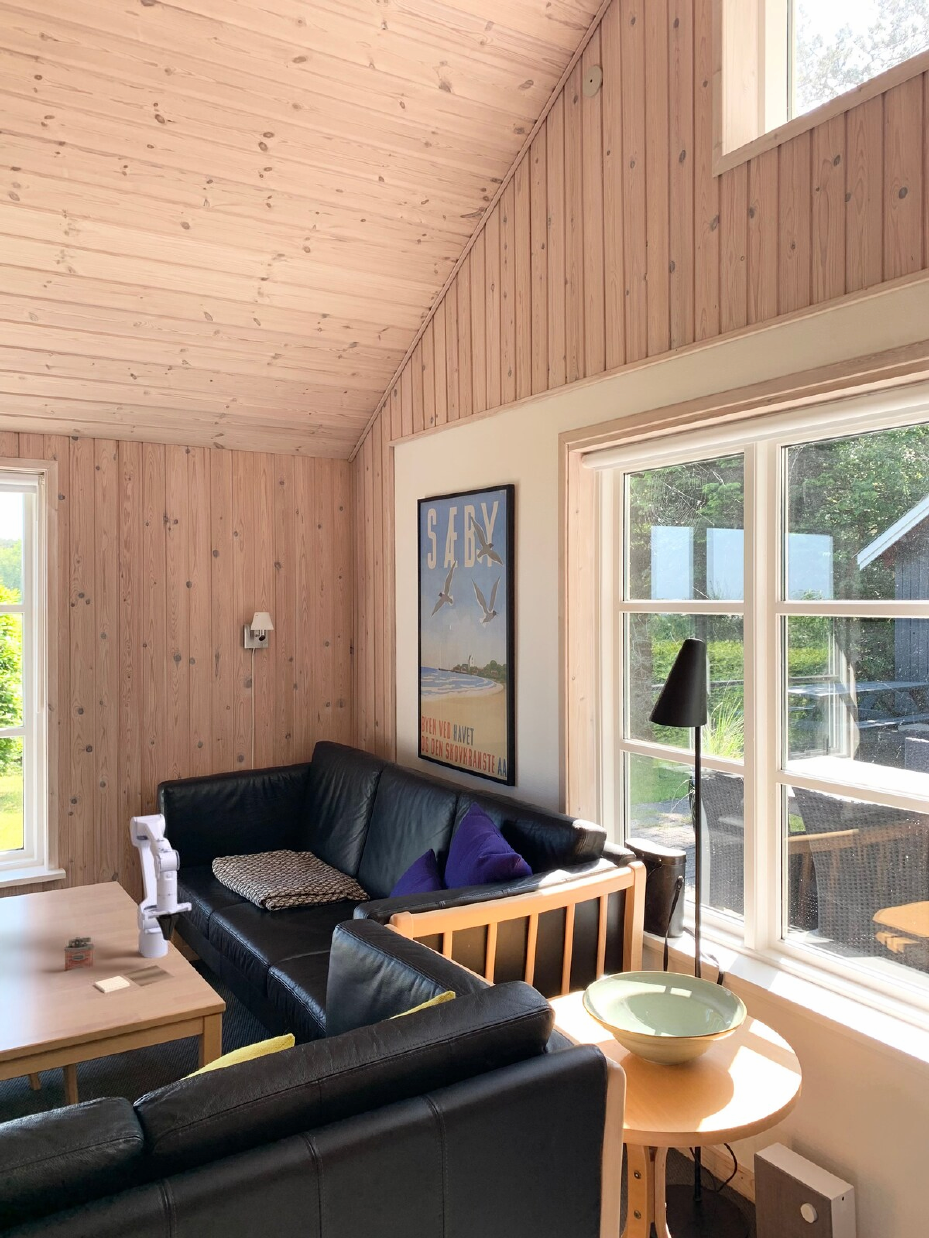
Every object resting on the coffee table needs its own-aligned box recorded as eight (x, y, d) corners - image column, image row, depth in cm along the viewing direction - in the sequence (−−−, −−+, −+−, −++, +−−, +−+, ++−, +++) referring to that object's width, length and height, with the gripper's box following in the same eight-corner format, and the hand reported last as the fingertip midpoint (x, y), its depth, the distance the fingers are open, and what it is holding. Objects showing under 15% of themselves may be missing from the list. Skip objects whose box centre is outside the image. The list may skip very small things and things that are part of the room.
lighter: (63, 974, 273) (63, 940, 273) (65, 970, 276) (65, 937, 276) (92, 971, 275) (92, 938, 275) (94, 967, 278) (94, 934, 278)
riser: (123, 979, 270) (123, 974, 270) (156, 970, 277) (156, 965, 277) (141, 991, 261) (141, 986, 261) (174, 981, 268) (174, 976, 268)
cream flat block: (94, 989, 262) (94, 982, 262) (119, 982, 266) (119, 975, 266) (104, 996, 257) (104, 989, 257) (129, 989, 261) (129, 982, 261)
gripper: (149, 901, 265) (149, 948, 265) (196, 890, 275) (196, 936, 275) (138, 896, 270) (138, 942, 270) (184, 886, 280) (185, 931, 280)
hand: (167, 939), depth 273 cm, fingers closed
